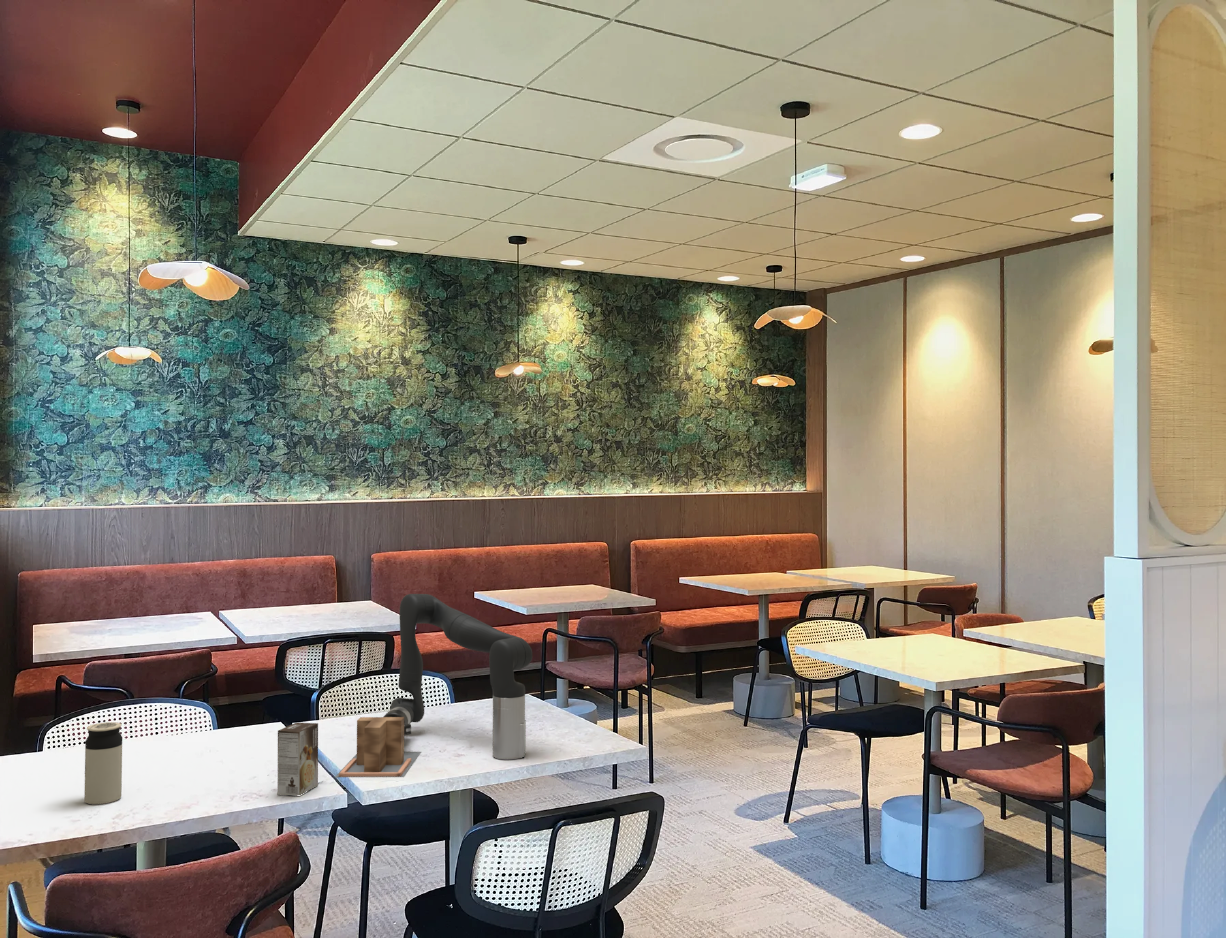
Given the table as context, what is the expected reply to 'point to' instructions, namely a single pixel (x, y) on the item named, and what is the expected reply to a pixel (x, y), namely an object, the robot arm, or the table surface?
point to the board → (387, 771)
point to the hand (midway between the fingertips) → (382, 736)
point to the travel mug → (103, 763)
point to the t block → (380, 742)
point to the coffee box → (297, 758)
